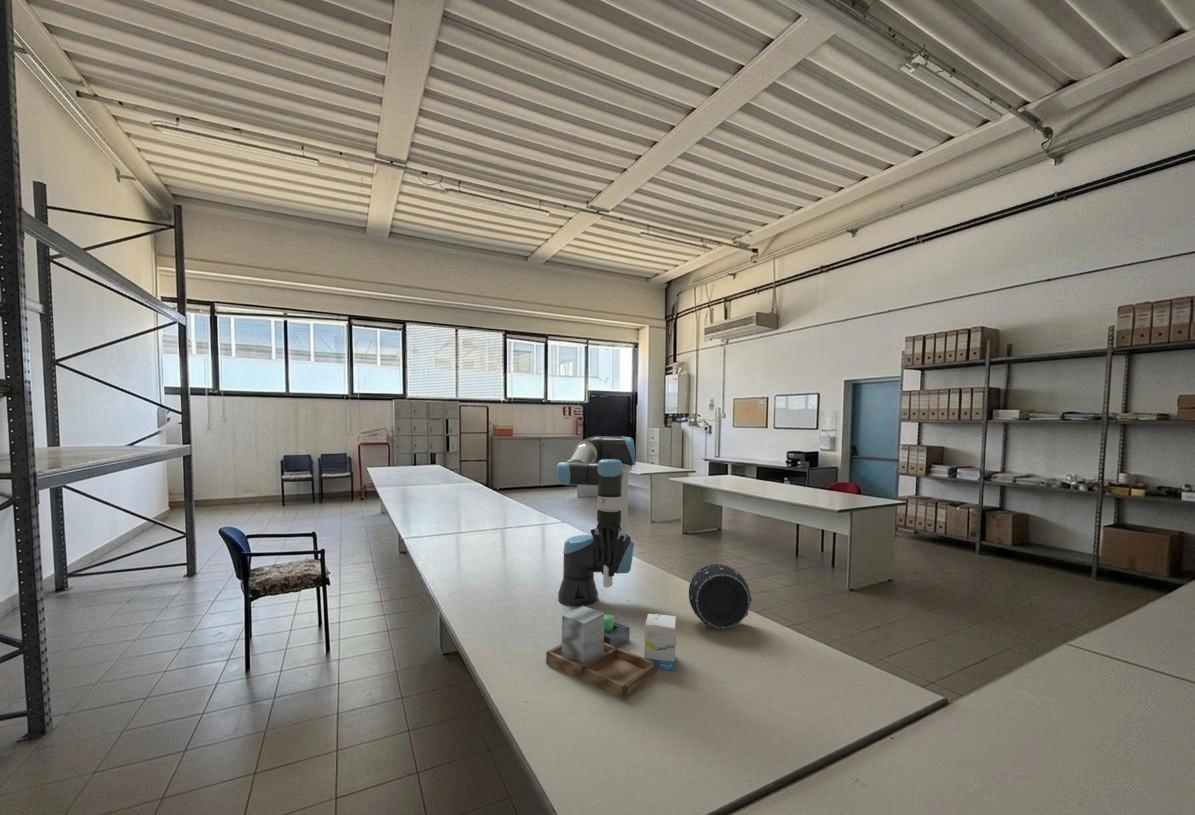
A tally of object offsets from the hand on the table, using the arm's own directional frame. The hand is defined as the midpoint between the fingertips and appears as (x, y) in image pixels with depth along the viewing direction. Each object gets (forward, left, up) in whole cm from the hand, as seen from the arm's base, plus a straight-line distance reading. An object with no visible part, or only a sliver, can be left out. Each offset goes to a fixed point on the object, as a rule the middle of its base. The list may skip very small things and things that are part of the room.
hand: (607, 586), depth 145 cm
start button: (0, 0, -15) cm, 15 cm away
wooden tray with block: (+8, -14, -17) cm, 23 cm away
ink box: (+19, 0, -17) cm, 25 cm away
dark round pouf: (+22, +33, -17) cm, 43 cm away
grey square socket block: (0, 0, -17) cm, 17 cm away
